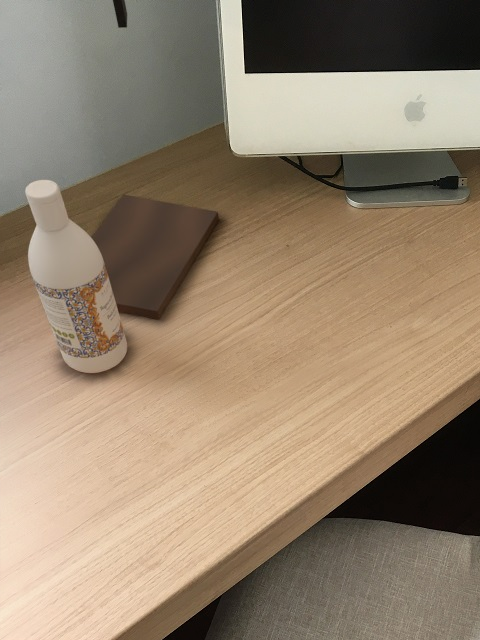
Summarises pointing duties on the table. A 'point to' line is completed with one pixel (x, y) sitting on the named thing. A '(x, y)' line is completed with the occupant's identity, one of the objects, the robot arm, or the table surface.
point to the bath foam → (73, 285)
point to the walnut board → (150, 250)
